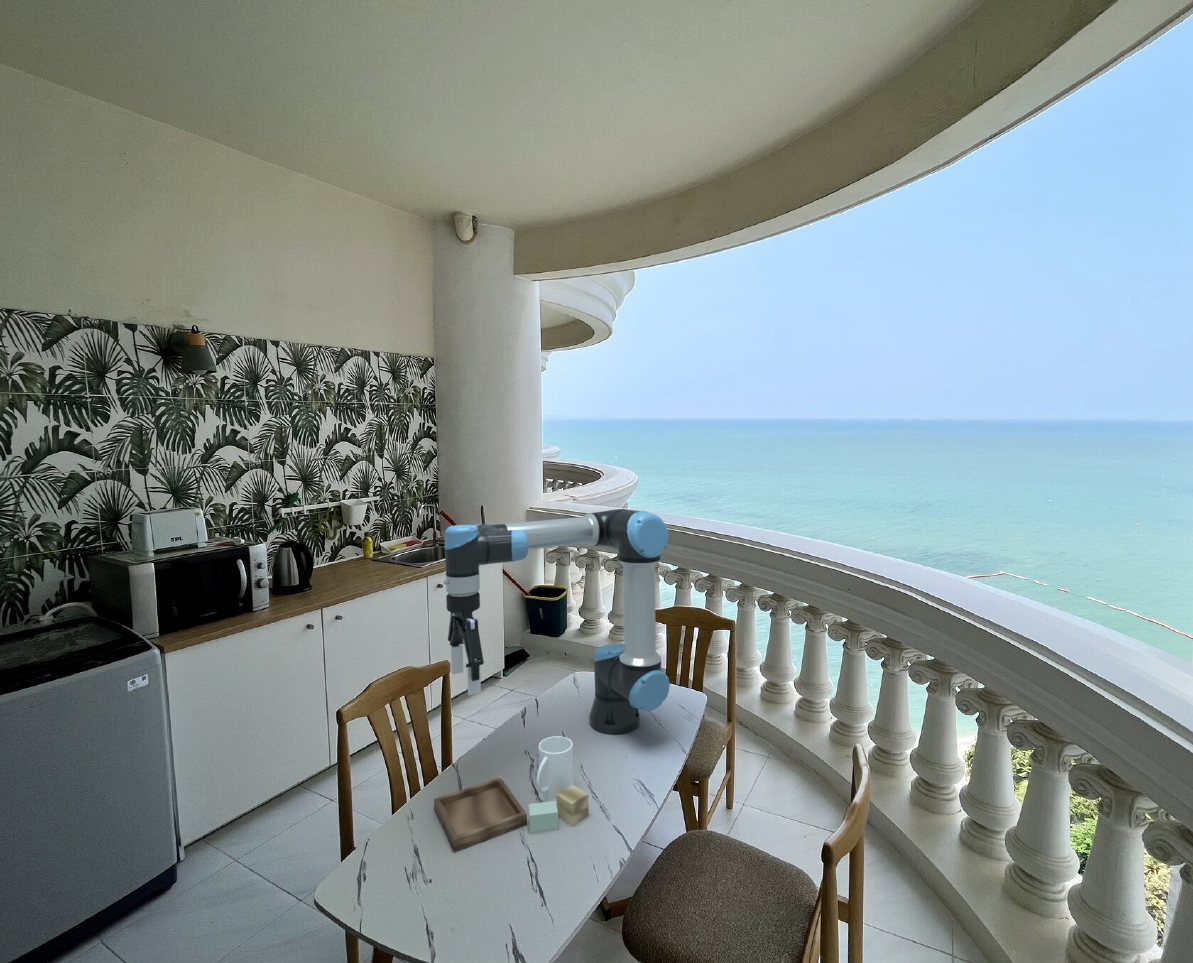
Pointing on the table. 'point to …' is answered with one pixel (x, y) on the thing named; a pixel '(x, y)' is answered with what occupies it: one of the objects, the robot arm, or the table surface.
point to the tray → (479, 813)
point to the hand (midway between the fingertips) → (465, 682)
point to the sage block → (543, 817)
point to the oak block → (572, 805)
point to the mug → (554, 767)
